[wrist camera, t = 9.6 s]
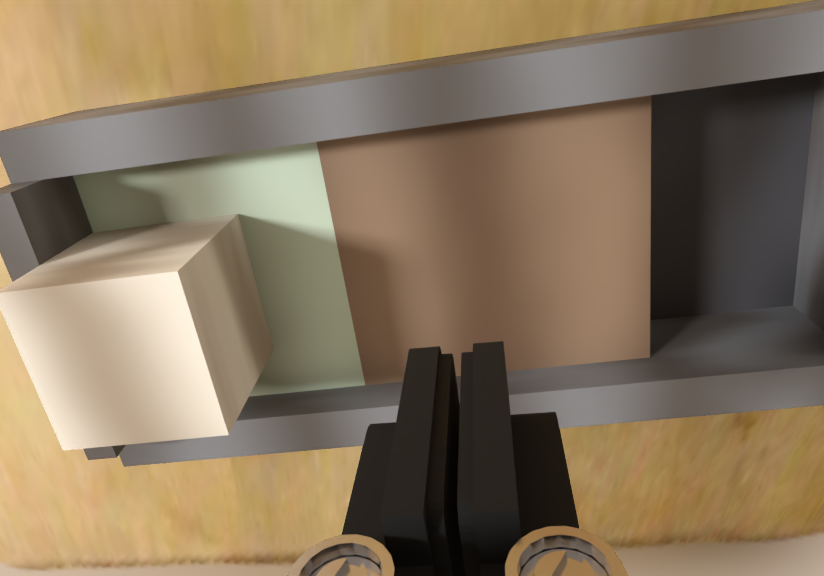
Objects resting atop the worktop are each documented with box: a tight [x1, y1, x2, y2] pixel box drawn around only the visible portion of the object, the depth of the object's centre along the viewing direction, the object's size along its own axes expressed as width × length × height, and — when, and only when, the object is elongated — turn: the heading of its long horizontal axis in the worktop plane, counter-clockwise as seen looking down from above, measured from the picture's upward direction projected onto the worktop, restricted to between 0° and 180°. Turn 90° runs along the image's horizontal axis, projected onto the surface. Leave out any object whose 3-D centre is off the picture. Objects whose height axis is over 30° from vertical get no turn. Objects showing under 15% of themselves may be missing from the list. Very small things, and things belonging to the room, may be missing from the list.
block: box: [0, 214, 273, 450], centre depth 19 cm, size 5×5×5 cm
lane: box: [0, 0, 824, 466], centre depth 21 cm, size 26×12×6 cm, turn 98°
